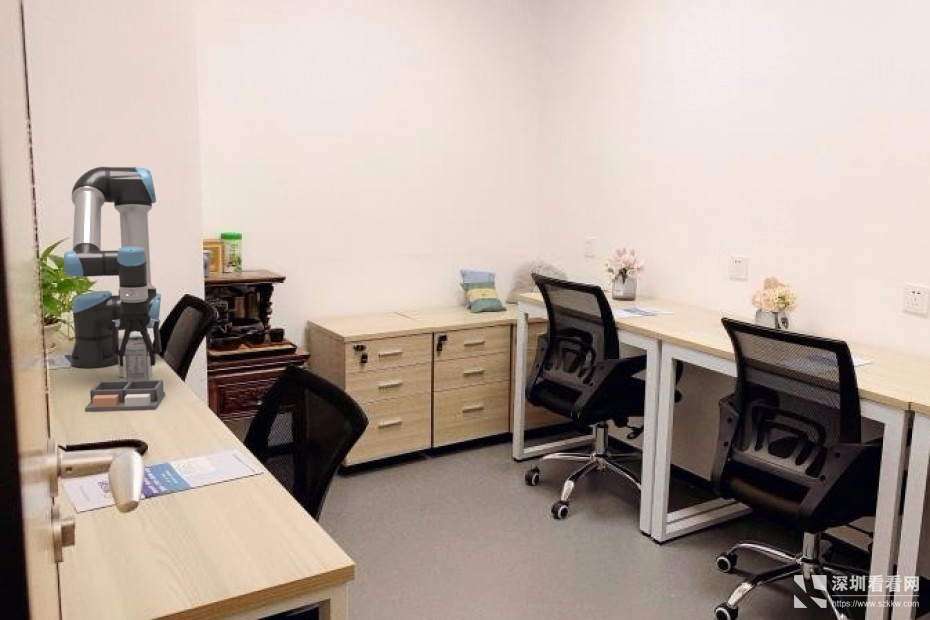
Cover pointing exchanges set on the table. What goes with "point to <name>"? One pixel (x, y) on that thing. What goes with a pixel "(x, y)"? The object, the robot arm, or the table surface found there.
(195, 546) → the table surface
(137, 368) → the energy drink can
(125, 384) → the socket deck
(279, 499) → the table surface
